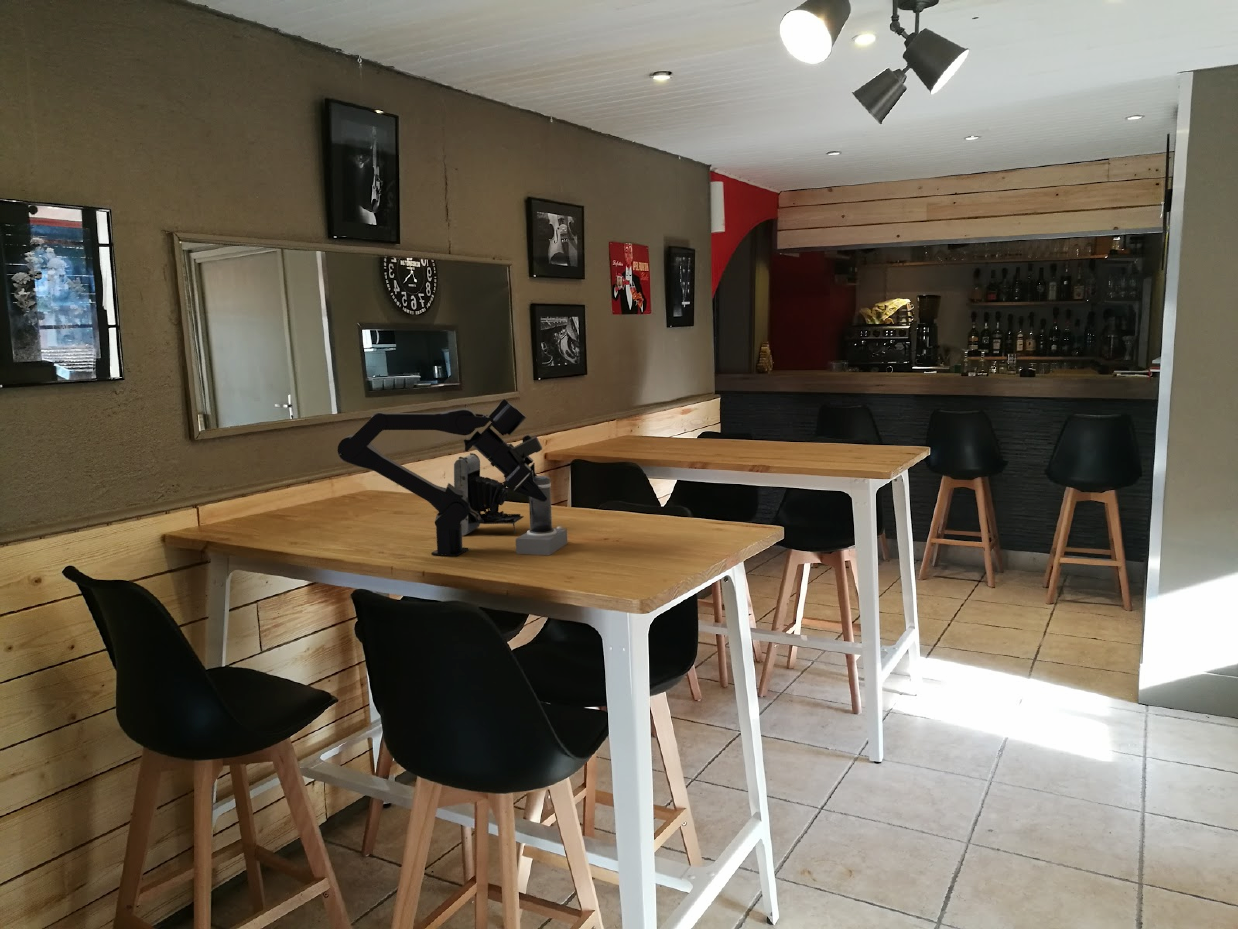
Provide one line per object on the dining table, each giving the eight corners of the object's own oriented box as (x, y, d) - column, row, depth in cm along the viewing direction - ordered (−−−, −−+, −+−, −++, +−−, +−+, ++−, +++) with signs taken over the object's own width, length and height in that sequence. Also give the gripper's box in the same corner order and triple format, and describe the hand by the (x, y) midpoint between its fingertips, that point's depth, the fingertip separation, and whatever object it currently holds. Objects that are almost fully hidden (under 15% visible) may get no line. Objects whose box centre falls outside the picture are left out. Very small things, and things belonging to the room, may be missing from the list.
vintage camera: (513, 539, 219) (513, 459, 216) (453, 536, 222) (452, 456, 219) (524, 531, 228) (524, 454, 226) (467, 528, 231) (467, 452, 228)
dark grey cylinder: (548, 532, 202) (546, 479, 201) (526, 532, 204) (524, 479, 202) (555, 527, 207) (553, 475, 206) (534, 527, 209) (532, 475, 207)
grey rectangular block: (549, 555, 199) (548, 536, 199) (516, 553, 202) (515, 534, 201) (567, 543, 211) (566, 525, 210) (535, 542, 213) (535, 524, 212)
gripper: (518, 428, 193) (570, 477, 195) (522, 421, 211) (570, 465, 213) (483, 465, 193) (536, 514, 196) (490, 455, 212) (538, 499, 214)
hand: (546, 496), depth 205 cm, fingers open, 9 cm apart
